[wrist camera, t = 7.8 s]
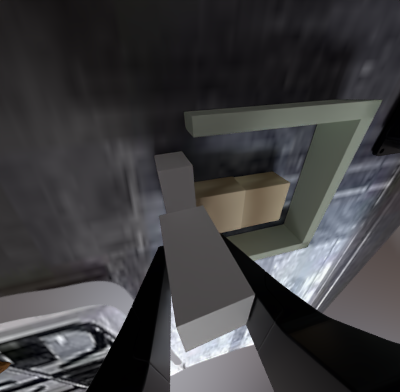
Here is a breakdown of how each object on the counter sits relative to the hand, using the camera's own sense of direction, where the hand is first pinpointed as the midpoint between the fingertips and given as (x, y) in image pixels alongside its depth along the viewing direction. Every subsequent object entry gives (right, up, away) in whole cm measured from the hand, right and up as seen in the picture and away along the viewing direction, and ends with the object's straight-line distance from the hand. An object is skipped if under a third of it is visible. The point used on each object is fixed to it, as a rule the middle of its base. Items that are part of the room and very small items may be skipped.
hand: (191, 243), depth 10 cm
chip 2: (+5, +3, +5) cm, 8 cm away
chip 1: (+2, +3, +5) cm, 6 cm away
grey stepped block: (-2, +2, +4) cm, 5 cm away
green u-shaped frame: (+5, +4, +5) cm, 8 cm away
